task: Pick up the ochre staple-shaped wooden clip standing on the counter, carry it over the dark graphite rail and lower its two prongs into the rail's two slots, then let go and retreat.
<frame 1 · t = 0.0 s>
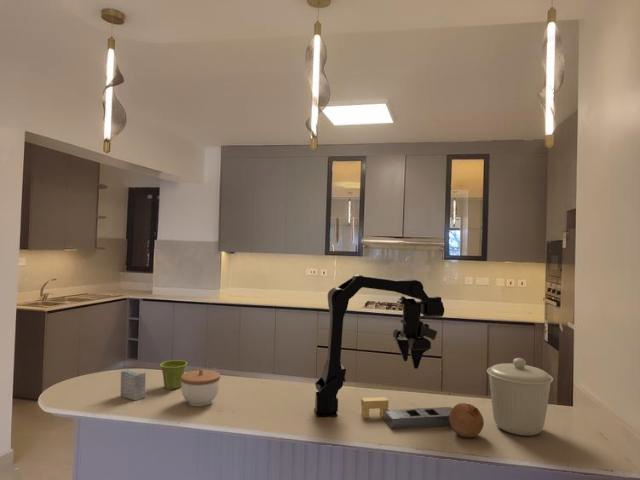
hand: (410, 364, 147), 15 cm above the counter, fingers open, 9 cm apart
lidded bowl: (200, 403, 148), on the counter
canister: (518, 429, 133), on the counter
rail: (422, 422, 136), on the counter
medicine box: (132, 397, 152), on the counter
clip: (374, 415, 140), on the counter
plant pot: (173, 387, 163), on the counter
onion: (465, 435, 128), on the counter
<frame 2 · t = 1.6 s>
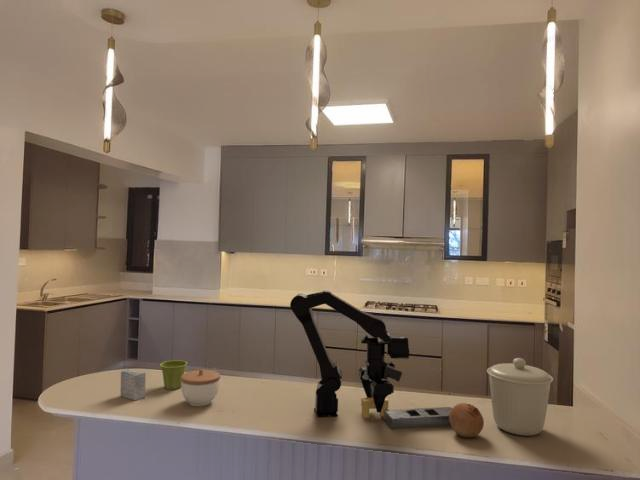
hand: (374, 406, 141), 3 cm above the counter, fingers open, 9 cm apart
nothing on the counter moved.
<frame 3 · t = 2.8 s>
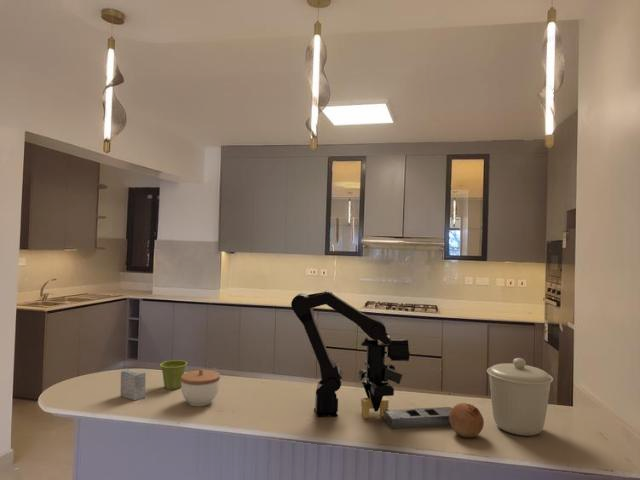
hand: (374, 409, 140), 2 cm above the counter, fingers closed on clip, 3 cm apart
clip: (374, 415, 140), on the counter, touching gripper
everything else where it was.
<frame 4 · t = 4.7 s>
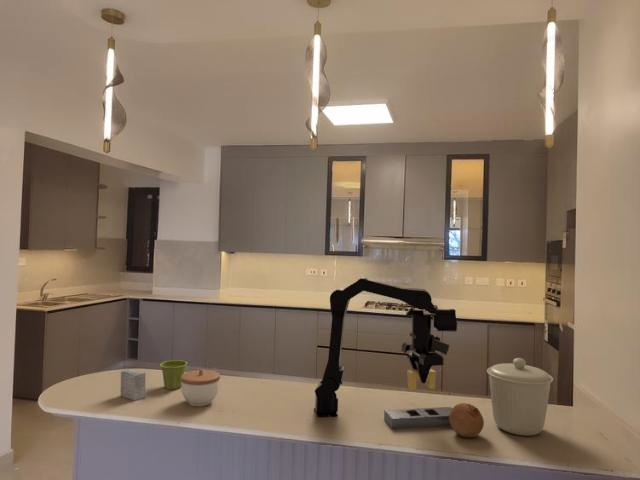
hand: (421, 381, 136), 12 cm above the counter, fingers closed on clip, 3 cm apart
clip: (421, 387, 136), point 10 cm above the counter, touching gripper
everything else where it was.
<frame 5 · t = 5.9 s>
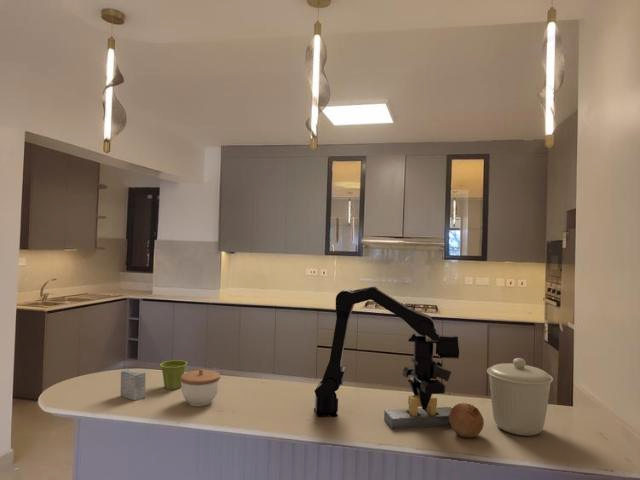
hand: (422, 407, 136), 5 cm above the counter, fingers closed on clip, 3 cm apart
clip: (422, 413, 136), point 3 cm above the counter, touching gripper
everything else where it was.
when the fingers open (3 cm above the counter, at t = 6.7 s): clip drops 1 cm, resting on rail.
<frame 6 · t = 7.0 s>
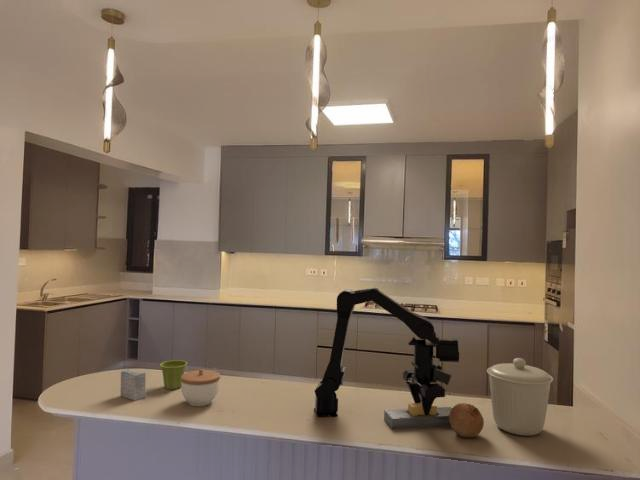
hand: (422, 410, 136), 3 cm above the counter, fingers open, 6 cm apart
clip: (422, 421, 136), resting on rail
everything else where it was.
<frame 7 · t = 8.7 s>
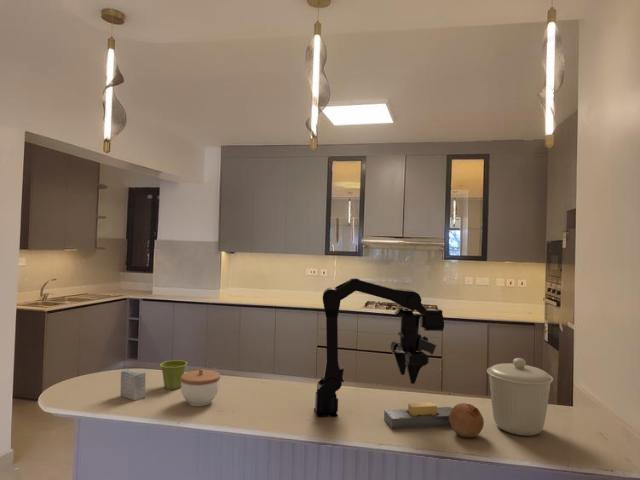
hand: (407, 379, 141), 12 cm above the counter, fingers open, 9 cm apart
nothing on the counter moved.
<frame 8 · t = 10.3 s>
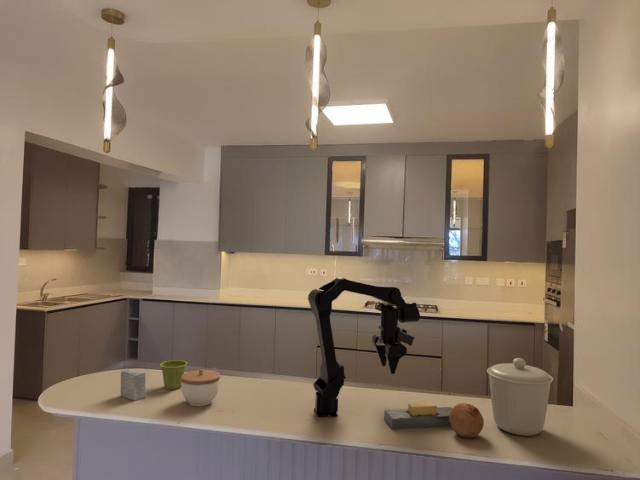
hand: (388, 369, 150), 12 cm above the counter, fingers open, 9 cm apart
nothing on the counter moved.
at the end: clip 0.0 cm off-centre on the rail, point 0.2 cm above the rail's base; clip tilted 0°; the gripper is holding nothing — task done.
